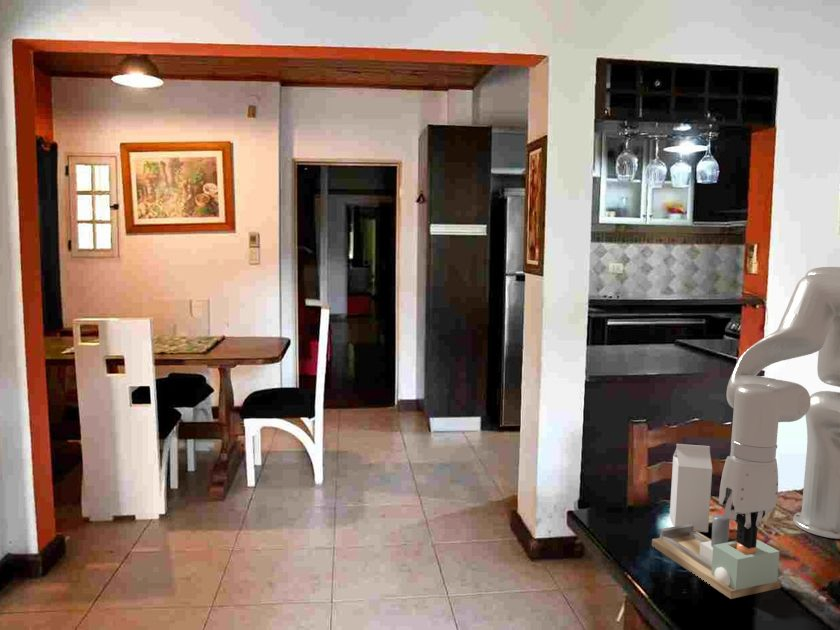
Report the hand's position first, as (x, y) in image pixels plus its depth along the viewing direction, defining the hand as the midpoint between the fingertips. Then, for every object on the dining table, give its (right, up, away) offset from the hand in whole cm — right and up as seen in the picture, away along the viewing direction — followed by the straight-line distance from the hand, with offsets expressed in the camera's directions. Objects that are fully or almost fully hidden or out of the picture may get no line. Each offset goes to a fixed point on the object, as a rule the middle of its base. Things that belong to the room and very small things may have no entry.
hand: (746, 544), depth 126 cm
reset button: (0, -3, 0) cm, 3 cm away
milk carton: (0, -5, +27) cm, 28 cm away
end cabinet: (0, -8, +1) cm, 8 cm away
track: (-3, -7, +9) cm, 12 cm away
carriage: (-2, -6, +7) cm, 9 cm away
